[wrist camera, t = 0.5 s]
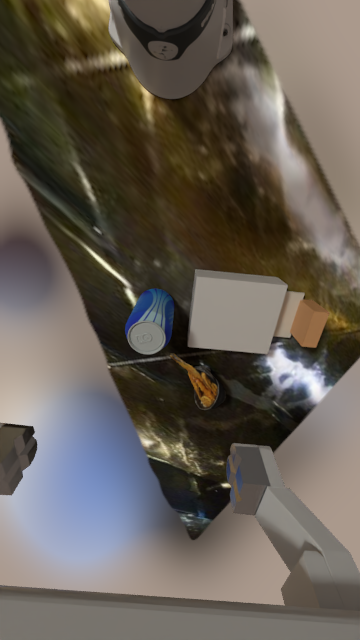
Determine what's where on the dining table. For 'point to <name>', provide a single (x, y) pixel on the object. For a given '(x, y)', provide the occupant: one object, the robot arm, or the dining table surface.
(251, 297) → the block
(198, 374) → the fried shrimp in bowl
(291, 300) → the tan-tipped white bar
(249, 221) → the dining table surface
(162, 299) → the beer can
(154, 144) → the dining table surface
